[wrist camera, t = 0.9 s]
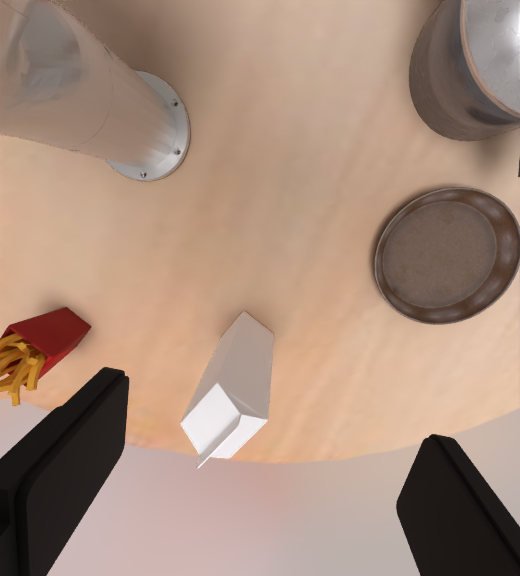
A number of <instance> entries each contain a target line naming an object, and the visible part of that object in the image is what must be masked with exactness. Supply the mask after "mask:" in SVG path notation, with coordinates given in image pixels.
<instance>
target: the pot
mask: <svg viewBox="0 0 520 576" xmlns="http://www.w3.org/2000/svg"><path fill="white" fill-rule="evenodd" d="M460 8H461V0H443V1H442V3H441V4H440V5H439V6H438V8H437V9H436V10H435V11H434V13H433V14H432V15H431V17H430V18H429V19H428V21H427V22H426V24H425V25H424V27H423V29H422V31H421V33H420V35H419V37H418V39H417V41H416V44H415V46H414V50H413V53H412V57H411V62H410V69H409V84H410V92H411V97H412V100H413V103H414V106H415V108H416V110H417V112H418V114H419V115H420V117H421V118H422V120H423V121H424V122H425V123H426V124H427V125H428V126H429V127H430V128H431V129H432V130H434V131H435V132H437V133H438V134H440V135H442V136H444V137H447V138H450V139H454V140H459V141H476V140H482V139H486V138H490V137H493V136H496V135H499V134H502V133H505V132H508V131H511V130H514V129H517V128H520V118H518V117H515V116H513V115H511V114H509V113H507V112H506V111H504V110H502V109H501V108H499V107H498V106H497V105H496V104H494V103H493V102H492V101H491V100H490V99H489V98H488V97H487V96H486V95H485V94H484V93H483V92H482V91H481V89H480V88H479V86H478V85H477V83H476V82H475V80H474V78H473V76H472V74H471V72H470V70H469V68H468V65H467V62H466V59H465V56H464V52H463V47H462V41H461V35H460ZM518 177H520V160H519V174H518Z"/></svg>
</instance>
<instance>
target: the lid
mask: <svg viewBox="0 0 520 576" xmlns="http://www.w3.org/2000/svg"><path fill="white" fill-rule="evenodd" d="M460 35H461V41H462V47H463V52H464V56H465V59H466V62H467V65H468V68H469V70H470V72H471V74H472V76H473V78H474V80H475V82H476V83H477V85H478V86H479V88H480V89H481V91H482V92H483V93H484V94H485V95H486V96H487V97H488V98H489V99H490V100H491V101H492V102H493V103H494V104H496V105H497V106H498V107H499V108H501V109H502V110H504V111H506V112H507V113H509V114H511V115H513V116H515V117H518V118H520V0H461V8H460Z"/></svg>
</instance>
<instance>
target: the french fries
mask: <svg viewBox="0 0 520 576" xmlns="http://www.w3.org/2000/svg"><path fill="white" fill-rule="evenodd" d="M90 328H91V326H90V325H89V324H87V323H86V322H85V321H84V320H82V319H81V318H80V317H79V316H77V315H76V314H75V313H73V312H72V311H71V310H70V309H68V308H67V307H66V308H62V309H59V310H56V311H53V312H49V313H46V314H43V315H40V316H37V317H33V318H30V319H27V320H24V321H21V322H17V323H14V324H11V325H9V326H8V328H7V329H6V331H5V332H4V334H3V335H2V337H1V338H0V377H1V376H3V375H5V374H7V373H8V374H9V375H10V376H8V377H7V378H5V379H3V380H1V381H0V392H3V391H7V390H9V392H8V394H9V395H12V405H13V406H16V405H19V404H20V397H19V392H20V386H21V385H24V386H26V390H28V391H31V390H36V389H37V382H38V380H39V379H40V378H41V377H42V376H43V375H44V374H46V373H47V372H48V371H49V370H50V369H51V368H52V367H54V366H55V365H56V364H57V363H58V362H59V361H61V360H62V359H63V358H64V357H65V356H66V355H67V354H69V353H70V352H71V351H72V350H73V349H74V348H75V347H77V345H78V344H79V343H80V341H81V340H82V339H83V337H84V336H85V335H86V333H87V332H88V331H89V330H90ZM13 380H14V381H13Z"/></svg>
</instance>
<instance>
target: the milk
mask: <svg viewBox="0 0 520 576" xmlns="http://www.w3.org/2000/svg"><path fill="white" fill-rule="evenodd" d="M273 344H274V334H273V333H272V332H271V331H269V330H268V329H267V328H266V327H264V326H263V325H262V324H260V323H259V322H258V321H257V320H255V319H254V318H253V317H251V316H250V315H249V314H248V313H246V312H245V311H243V312H242V313H241V314H240V316H239V317H238V318H237V319H236V320H235V321H234V323H233V324H232V325H231V326H230V327H229V328H228V330H227V331H226V332H225V333H224V334H223V336H222V337H221V338H220V340H219V342H218V344H217V346H216V349H215V351H214V353H213V355H212V357H211V359H210V361H209V363H208V366H207V368H206V370H205V372H204V374H203V376H202V378H201V380H200V383H199V385H198V387H197V389H196V391H195V393H194V395H193V398H192V400H191V402H190V404H189V406H188V408H187V410H186V412H185V415H184V417H183V419H182V421H181V426H182V428H183V429H184V431H185V432H186V434H187V436H188V437H189V439H190V440H191V442H192V444H193V445H194V447H195V448H196V450H197V452H198V453H199V455H200V457H199V460H198V463H197V466H196V468H199V467H200V466H201V465H202V464H203V463H204V462H205V461H206V460H207V459H208V458H209V457H217V458H231V457H232V456H233V455H234V454H235V453H236V452H237V451H238V450H239V449H240V448H241V447H242V446H243V445H244V444H245V443H246V442H247V441H248V440H249V439H250V438H251V437H252V436H253V435H254V434H255V433H256V432H257V431H258V430H259V429H260V428H261V427H262V426H263V425H264V424H265V423H266V422H267V421H268V418H269V403H270V388H271V373H272V359H273Z"/></svg>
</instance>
